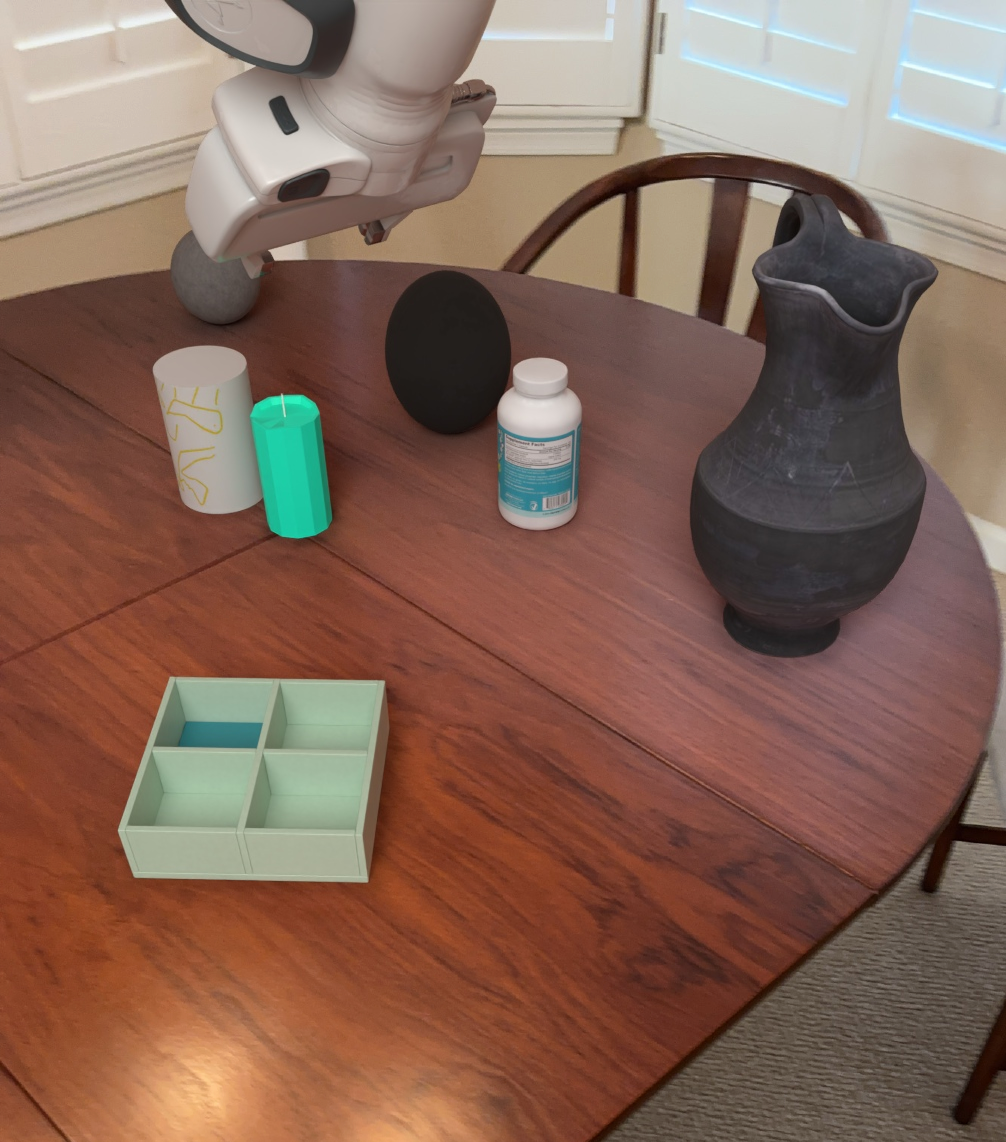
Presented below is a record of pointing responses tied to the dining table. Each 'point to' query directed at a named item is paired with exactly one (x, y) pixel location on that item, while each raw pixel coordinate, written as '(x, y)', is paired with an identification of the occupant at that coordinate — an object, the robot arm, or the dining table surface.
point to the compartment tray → (259, 781)
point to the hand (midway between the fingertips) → (314, 250)
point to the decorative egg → (448, 351)
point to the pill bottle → (539, 446)
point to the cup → (210, 427)
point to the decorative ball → (211, 284)
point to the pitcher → (815, 440)
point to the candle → (292, 465)
